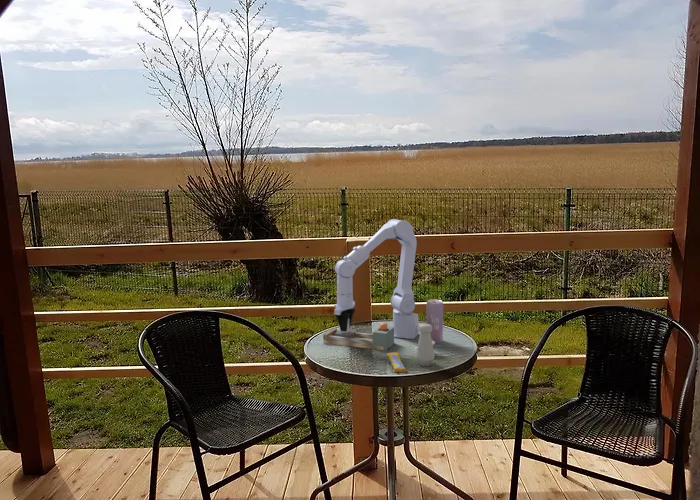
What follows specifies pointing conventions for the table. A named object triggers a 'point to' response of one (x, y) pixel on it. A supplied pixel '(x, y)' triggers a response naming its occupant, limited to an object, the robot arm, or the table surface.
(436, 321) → the beverage can
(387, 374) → the table surface
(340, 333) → the carriage
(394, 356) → the candy bar
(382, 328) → the button
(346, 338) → the rail track
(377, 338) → the end cabinet
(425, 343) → the salt shaker
